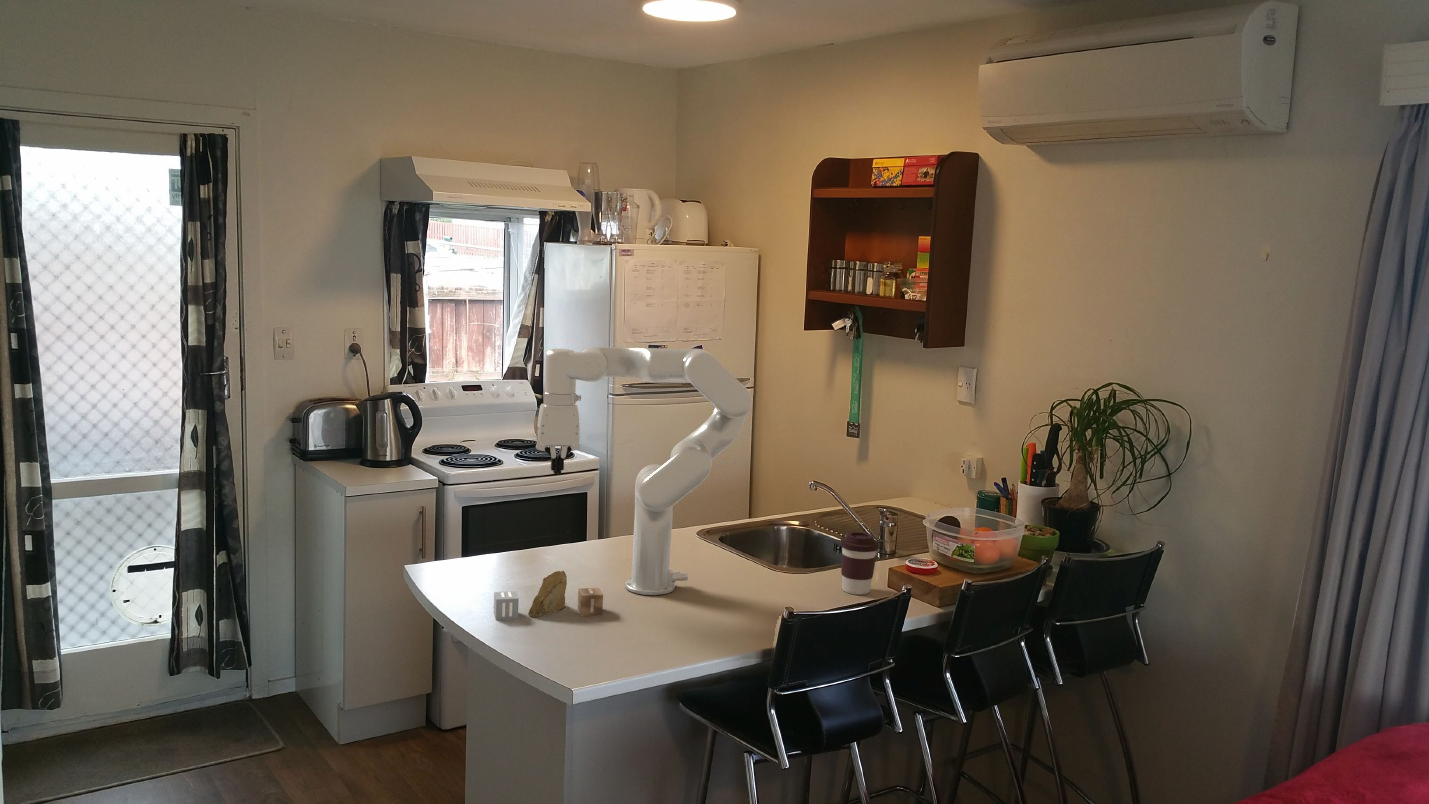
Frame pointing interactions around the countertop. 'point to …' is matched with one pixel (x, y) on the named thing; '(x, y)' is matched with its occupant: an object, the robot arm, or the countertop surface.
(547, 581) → the rock
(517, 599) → the grey block
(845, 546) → the coffee cup
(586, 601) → the walnut block
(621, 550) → the countertop surface
